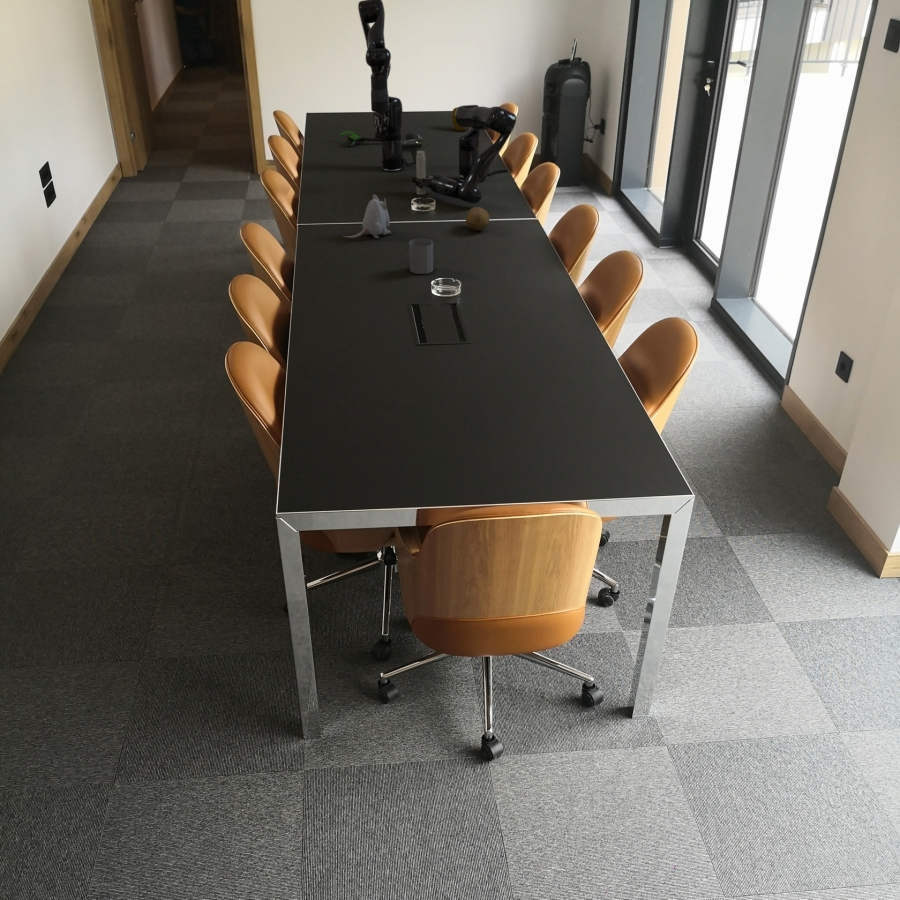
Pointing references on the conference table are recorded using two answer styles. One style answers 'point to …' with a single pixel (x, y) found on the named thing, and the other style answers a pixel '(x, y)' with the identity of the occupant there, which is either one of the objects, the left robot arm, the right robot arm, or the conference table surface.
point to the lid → (377, 135)
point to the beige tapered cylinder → (421, 170)
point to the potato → (477, 218)
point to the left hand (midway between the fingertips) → (381, 140)
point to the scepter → (356, 139)
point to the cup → (421, 256)
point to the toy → (375, 219)
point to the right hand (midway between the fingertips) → (417, 178)
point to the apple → (456, 122)
